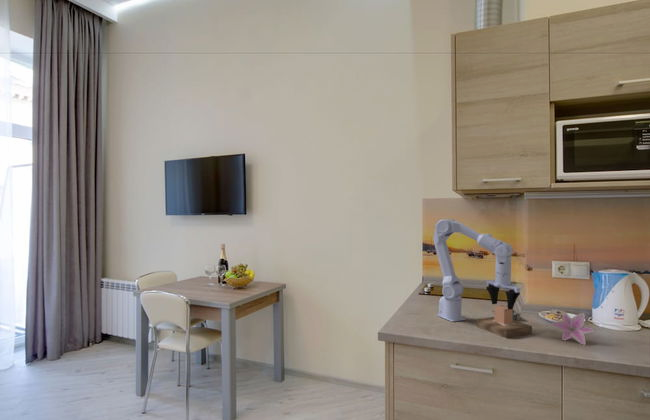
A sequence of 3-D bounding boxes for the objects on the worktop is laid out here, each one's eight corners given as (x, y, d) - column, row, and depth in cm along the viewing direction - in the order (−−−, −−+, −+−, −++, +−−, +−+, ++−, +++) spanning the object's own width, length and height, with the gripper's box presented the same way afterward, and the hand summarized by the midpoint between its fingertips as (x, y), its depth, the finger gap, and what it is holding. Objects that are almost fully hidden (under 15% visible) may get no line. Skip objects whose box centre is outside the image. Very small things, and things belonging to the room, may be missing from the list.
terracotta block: (494, 321, 144) (494, 306, 144) (502, 319, 146) (502, 305, 146) (503, 324, 140) (504, 309, 140) (512, 323, 142) (512, 308, 142)
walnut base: (477, 326, 147) (477, 318, 147) (501, 322, 152) (501, 315, 152) (506, 338, 134) (506, 329, 134) (531, 333, 140) (531, 325, 140)
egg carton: (512, 316, 164) (513, 307, 164) (522, 321, 156) (523, 311, 156) (490, 315, 163) (490, 307, 163) (499, 321, 156) (499, 311, 156)
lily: (546, 337, 139) (548, 319, 135) (564, 322, 143) (567, 304, 139) (578, 357, 129) (582, 338, 125) (597, 340, 134) (601, 322, 129)
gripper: (481, 270, 149) (480, 302, 149) (511, 276, 136) (510, 312, 136) (493, 269, 152) (493, 301, 152) (524, 275, 138) (523, 310, 138)
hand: (502, 306), depth 144 cm, fingers open, 7 cm apart
